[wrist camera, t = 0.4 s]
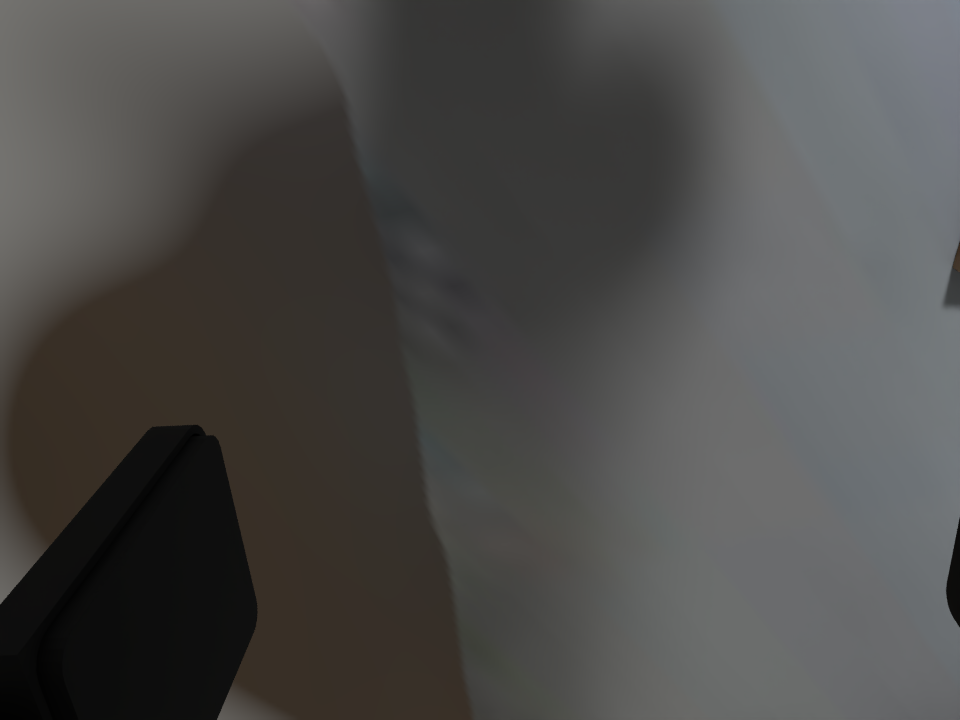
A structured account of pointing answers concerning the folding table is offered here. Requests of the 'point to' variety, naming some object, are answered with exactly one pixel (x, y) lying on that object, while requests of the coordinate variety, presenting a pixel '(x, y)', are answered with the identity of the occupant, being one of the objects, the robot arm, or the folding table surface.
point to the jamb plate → (957, 260)
